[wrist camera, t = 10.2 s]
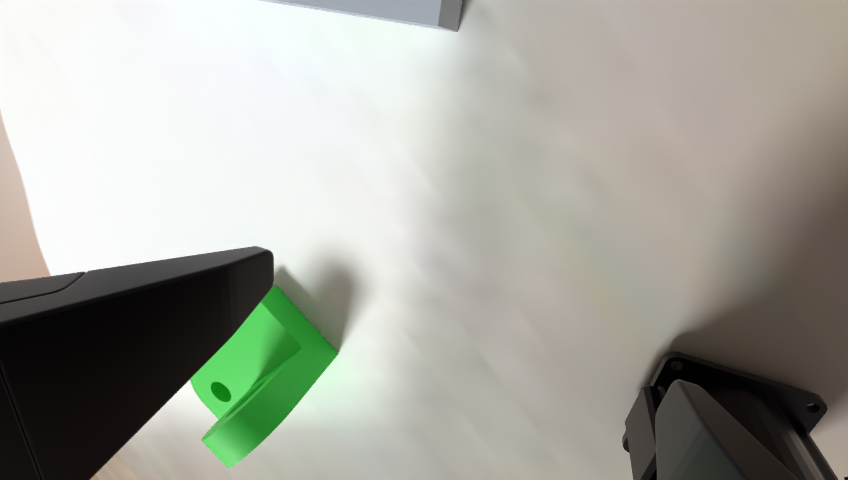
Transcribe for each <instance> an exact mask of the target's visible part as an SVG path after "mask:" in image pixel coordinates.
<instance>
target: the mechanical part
mask: <svg viewBox="0 0 848 480" xmlns="http://www.w3.org/2000/svg"><path fill="white" fill-rule="evenodd" d="M337 355H338V353H337V352H336V351H335V349H334V348H333V347H332V346H331V345H330V344H329V343H328V342H327V341H326V340H325V338H324V337H323V336H322V335H321V334H320V333H319V332H318V331H317V330H316V329H315V328H314V326H313V325H312V324H311V323H310V322H309V321H308V320H307V319H306V318H305V317H304V315H303V314H302V313H301V312H300V311H299V310H298V309H297V308H296V307H295V306H294V304H293V303H292V302H291V301H290V300H289V299H288V298H287V297H286V296H285V295H284V294H283V292H282V291H281V290H280V289H279V288H278V287H277V286H275V287H274V288H272V289H271V290H270V291H269V292H268V293H267V295H266V296H265V297H264V298H263V300H262V301H261V302H260V303H259V305H258V306H257V307H256V308H255V309H254V311H253V312H252V313H251V314H250V316H249V317H248V318H247V319H246V321H245V322H244V323H243V324H242V325H241V327H240V328H239V329H238V330H237V331H236V333H235V334H234V335H233V336H232V337H231V338H230V339H229V340H228V341H227V342H226V343H225V344H224V345H223V346H222V347H221V348H220V349H219V350H218V351H217V352H216V353H215V354H214V355H213V356H212V358H211V359H210V360H209V361H208V362H207V363H206V364H205V365H204V366H203V367H202V368H201V369H200V370H199V371H198V372H197V373H196V374H195V375H194V376H193V377H192V378H191V379H190V380H191V384H192V386H193V388H194V390H195V392H196V394H197V395H198V397H199V398H200V400H201V401H202V402H203V403H204V404H205V405H206V406H207V407H208V408H209V410H210V411H211V412H212V413H213V414H214V415H215V416H216V417H217V418H218V419H219V420H218V421H217V422H216V423H215V424H214V426H213V427H212V428H211V429H210V430H209V431H208V432H207V433H206V434H205V436H204V437H203V438H202V442H203V443H204V444H205V445H206V446H207V447H208V448H209V449H210V450H211V451H212V452H213V453H214V454H215V455H216V456H217V457H218V458H219V459H220V460H221V461H222V462H223V463H224V464H225V465H226V466H227V467H231V466H233V465H235V464H236V463H238V462H239V461H240V460H242V459H243V458H244V457H245V456H247V455H248V454H249V453H250V452H251V451H252V450H254V449H255V448H256V447H257V446H258V445H259V444H260V443H261V442H262V441H263V440H264V439H265V438H266V437H267V436H268V435H270V434H271V433H272V431H273V430H274V429H275V428H276V427H277V426H278V425H279V424H280V423H281V422H282V421H283V420H284V419H285V418H286V417H287V415H288V414H289V413H290V412H291V411H292V410H293V408H294V407H295V406H296V405H297V404H298V402H299V401H300V400H301V399H302V397H303V396H304V395H305V394H306V393H307V391H308V390H309V389H310V388H311V386H312V385H313V384H314V383H315V382H316V380H317V379H318V378H319V377H320V375H321V374H322V373H323V372H324V371H325V369H326V368H327V367H328V366H329V365H330V363H331V362H332V361H333V360H334V358H335V357H336V356H337Z"/></svg>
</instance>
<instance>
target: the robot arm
mask: <svg viewBox="0 0 848 480" xmlns="http://www.w3.org/2000/svg"><path fill="white" fill-rule="evenodd" d="M273 281H274V257H273V253H272V252H271V251H270V250H267V249H264V248H261V247H257V246H253V247H246V248H240V249H233V250H226V251H219V252H213V253H206V254H199V255H192V256H186V257H179V258H172V259H166V260H159V261H152V262H145V263H139V264H132V265H125V266H118V267H112V268H105V269H98V270H91V271H88V272H77V273H71V274H64V275H57V276H50V277H42V278H35V279H28V280H20V281H11V282H2V283H0V480H90V479H91V478H92V477H93V476H94V475H95V474H96V473H97V472H98V471H99V470H100V469H101V468H102V467H103V466H104V465H105V464H106V463H107V462H108V461H109V460H110V459H111V458H112V457H113V456H114V455H115V454H116V453H117V452H118V451H119V450H120V449H121V448H122V447H123V446H124V445H125V444H126V443H127V442H128V441H129V440H130V439H131V438H132V437H133V436H134V435H135V434H136V433H137V432H138V431H139V430H140V429H141V428H142V427H143V426H144V425H145V424H146V423H147V422H148V421H149V420H150V419H151V418H152V417H153V416H154V415H155V414H156V413H157V412H158V411H159V410H160V409H161V408H162V407H163V406H164V405H165V404H166V403H167V402H168V401H169V400H170V399H171V398H172V397H173V396H174V395H175V394H176V393H177V392H178V391H179V390H180V389H181V388H182V387H183V386H184V385H185V384H186V383H187V382H188V381H189V380H190V379H191V378H192V377H193V376H194V375H195V374H196V373H197V372H198V371H199V370H200V369H201V368H202V367H203V366H204V365H205V364H206V363H207V362H208V361H209V360H210V359H211V358H212V356H213V355H214V354H215V353H216V352H217V351H218V350H219V349H220V348H221V347H222V346H223V345H224V344H225V343H226V342H227V341H228V340H229V339H230V338H231V337H232V336H233V335H234V334H235V333H236V331H237V330H238V329H239V328H240V327H241V325H242V324H243V323H244V322H245V321H246V319H247V318H248V317H249V316H250V314H251V313H252V312H253V311H254V309H255V308H256V307H257V306H258V305H259V303H260V302H261V301H262V300H263V298H264V297H265V296H266V295H267V293H268V292H269V291H270V289H271V288H272V285H273ZM675 361H677V362H681V363H680V364H678V365H672V364H671V363H672V362H675ZM811 403H814V405H812V406H806V405H808V404H811ZM826 411H827V405H826V404H825V402H824V401H823V400H822V398H821V397H820V396H819V395H817V394H815V393H812V392H808V391H805V390H802V389H798V388H795V387H792V386H789V385H785V384H782V383H779V382H775V381H772V380H769V379H765V378H762V377H759V376H756V375H752V374H749V373H746V372H742V371H739V370H736V369H732V368H729V367H726V366H722V365H719V364H716V363H713V362H709V361H706V360H703V359H699V358H696V357H693V356H689V355H686V354H683V353H680V352H670V353H668V354H666V355H665V356H664V357H663V359H662V361H661V363H660V365H659V367H658V369H657V371H656V373H655V375H654V377H653V379H652V381H651V383H650V385H646V386H644V387H642V389H641V391H640V393H639V395H638V397H637V399H636V401H635V403H634V405H633V407H632V409H631V411H630V413H629V415H628V417H627V419H626V421H625V425H626V432H625V434H624V436H623V438H622V442H623V447H624V449H625V450H626V451H627V452H629V453H630V459H631V466H632V473H633V480H838V478H837V477H836V475H835V474H834V472H833V470H832V469H831V467H830V466H829V464H828V463H827V461H826V460H825V458H824V456H823V455H822V453H821V452H820V450H819V449H818V447H817V446H816V444H815V442H814V441H813V439H812V438H811V436H810V435H809V433H810V432H811V431H812V429H813V428H814V427H815V426H816V424H817V423H818V422H819V420H820V419H821V418H822V417H823V415H824V414H825V413H826ZM844 479H845V480H848V477H844Z"/></svg>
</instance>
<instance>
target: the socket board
mask: <svg viewBox="0 0 848 480" xmlns="http://www.w3.org/2000/svg"><path fill="white" fill-rule="evenodd" d="M261 1H268V2H274V3H280V4H286V5H293V6H299V7H305V8H311V9H317V10H324V11H330V12H336V13H342V14H349V15H355V16H361V17H367V18H374V19H380V20H386V21H392V22H398V23H405V24H411V25H417V26H423V27H430V28H436V29H442V30H448V31H455V32H458V26H459V20H460V14H461V8H462V2H463V0H261Z"/></svg>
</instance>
